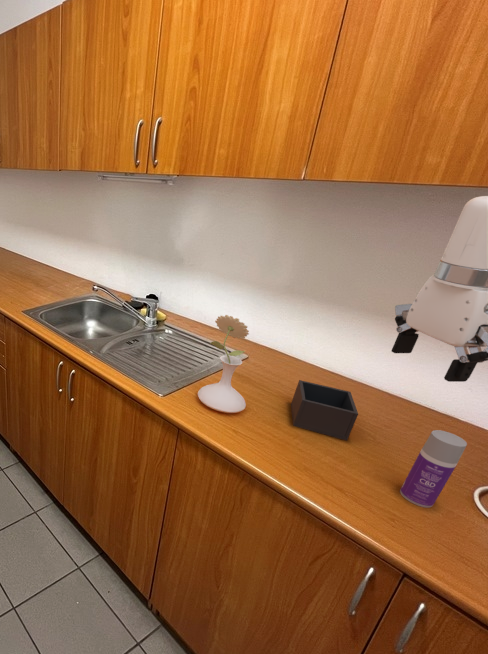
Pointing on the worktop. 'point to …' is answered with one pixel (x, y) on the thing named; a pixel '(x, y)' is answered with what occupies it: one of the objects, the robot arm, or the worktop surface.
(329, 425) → the bin
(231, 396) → the flower in vase
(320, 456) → the worktop surface
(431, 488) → the container
